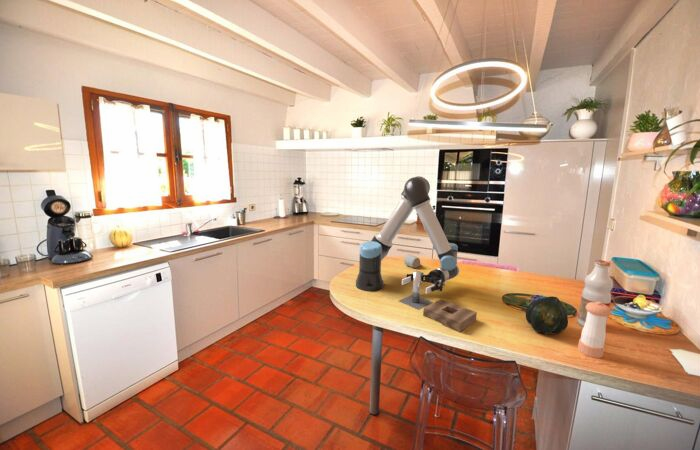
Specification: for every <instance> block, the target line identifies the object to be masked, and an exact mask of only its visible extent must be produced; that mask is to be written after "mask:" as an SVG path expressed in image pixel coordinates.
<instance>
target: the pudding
mask: <svg viewBox="0 0 700 450" xmlns="http://www.w3.org/2000/svg"><path fill="white" fill-rule="evenodd" d="M545 297H546V296H545V295H540V294H534V295H533V297H532V299H531V300H532V301H531V302H533V301H535V300H538V299H541V298H545Z"/></svg>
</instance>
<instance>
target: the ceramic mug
mask: <svg viewBox="0 0 700 450" xmlns="http://www.w3.org/2000/svg"><path fill="white" fill-rule="evenodd" d="M403 262H404V265H406V266H407V267H411V268H413V269H417V268H419V267H421V266H422V263H421V260H420V258H419V257H417V256H415V255H413V254H412V253H408V254H407V255H405V257H404V260H403Z"/></svg>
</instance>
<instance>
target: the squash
mask: <svg viewBox="0 0 700 450" xmlns="http://www.w3.org/2000/svg"><path fill="white" fill-rule="evenodd" d="M525 309H526V310H525V312H524V313H525V319H526V321H527V323H528V324H529V325H530V326H531V328H532V329H533V331H535V332H537V333H540V332H542V333H543V334H545V335H550V334H553V335H557V334H558V335H559V334H561V332H564V331H565V330H566V329H567V327H568V325H569V317H568V316H569V315H568V313H567V310H566V308H565V307H564V306H563V304H562V303H561V300H560V299H559V298H558V297H557V296H545V298H541V299H538V300H535V301H533V302H531V303H530V304H529V305H528V306H526V308H525Z"/></svg>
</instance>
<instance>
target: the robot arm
mask: <svg viewBox="0 0 700 450" xmlns="http://www.w3.org/2000/svg"><path fill="white" fill-rule="evenodd" d="M430 189H431V185H430V182H429V181H428V179H426V178H425V177H423V176H420V175H419V176H413V177H411V178H409V179H408V180H406V182H405V184H404V187H403V190H402V192H401V193H400V197H401V199H400V200H399V202H398V203H397V205H396V206H395V208H394V209H393V211H392V213H391V214H390V215H389V217H388V219H387V220H386V221H385V223H384V225H383V227H381V230H380V231H379V233H375V234H374V236H373V238H372V239H371V241H366V242H363V243H361V244H360V247H359V251H358V252H359V262H358V263H359V265H358V266H359V267H358V268H359V270H358V274H357V277H356V280H355V286H356V288H357V289H359V290H362V291H369V292H370V291H371V292H372V291H373V292H375V291H380V290H382V289H383V288H384V280H383V276H382V271H381V270H382V261H383V260H384V259H385V258H386V257H387V255H388V254H389V251H390V250H391V249H392V246H393V241H394V239H395V238H396V236H397V234H399V232H400V230H401V228H403V225H404V224H405V223H406V221H407V219H408V218H409V216H410V215H411V213H412V212H413V211H414V210H415V212H416V214H417V216H418V218H419V221H421V224H422V226H423V228H424V230H425V232H426V235H427V236H428V238H429V241H430V243H431V244H432V247H433V249H434V251H435V252H436V253H435V254H437V258H438V260H439V264H440V265H439V266H440V267H438V268H435V269H433V270H430V271H429V272H428V274H427V273H426V274H424V272H421V283H429V284H431V285H429V286H427V287H425V290H424V291H425V294H426V295H427V294H430V293H431V292H434V291H439V292H443V288H444V286H445V285H446V284H445V283H446V282H447V281H449V280H452V279H454V278H455V277H457V276H458V275H459V272H460V269H459V267H458V265H457V264H458V252H459V250H458V248H459V246H458V245H457V244H456V243H453V242H449V241H448V238H447V236H446V234H445V232H444V230H443V228H442V226H441V223H440V222H439V220H438V217H437V215H436V214H435V210H434V209H433V207H432V204H431V197H430V195H429V193H430V191H431V190H430ZM413 274H414V273H407V274H406V277H404V278H402V279H401V286H404V285H406V284H409V283H411V282H413Z"/></svg>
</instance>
